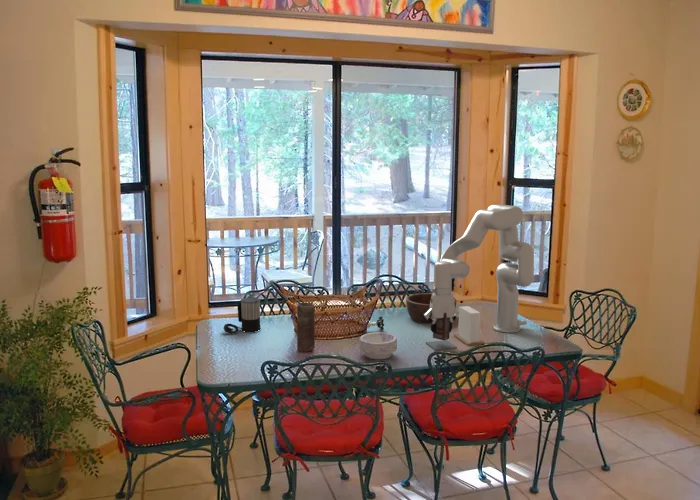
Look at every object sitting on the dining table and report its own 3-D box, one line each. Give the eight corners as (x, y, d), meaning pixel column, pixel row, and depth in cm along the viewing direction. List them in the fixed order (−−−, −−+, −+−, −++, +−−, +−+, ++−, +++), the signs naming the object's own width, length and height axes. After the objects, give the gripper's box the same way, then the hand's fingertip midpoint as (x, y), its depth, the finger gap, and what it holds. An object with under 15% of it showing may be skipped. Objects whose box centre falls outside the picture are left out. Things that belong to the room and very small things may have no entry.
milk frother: (265, 329, 283) (264, 298, 281) (244, 338, 269) (243, 306, 267) (241, 325, 290) (240, 295, 287) (219, 333, 276) (218, 302, 274)
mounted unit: (469, 335, 273) (470, 305, 271) (484, 344, 260) (485, 313, 258) (453, 336, 271) (454, 306, 269) (467, 345, 258) (468, 314, 256)
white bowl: (352, 356, 245) (352, 337, 243) (375, 347, 256) (375, 329, 255) (381, 365, 235) (381, 345, 233) (404, 355, 246) (404, 336, 245)
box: (449, 338, 257) (450, 311, 255) (443, 341, 254) (444, 313, 252) (438, 335, 261) (439, 308, 259) (432, 338, 258) (432, 310, 256)
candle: (306, 346, 258) (305, 300, 255) (318, 349, 253) (318, 303, 250) (293, 350, 252) (292, 304, 249) (306, 354, 247) (305, 307, 244)
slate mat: (446, 341, 264) (446, 340, 264) (456, 348, 254) (456, 347, 254) (425, 343, 261) (425, 342, 261) (434, 350, 252) (434, 349, 252)
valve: (359, 333, 276) (384, 331, 279) (359, 320, 275) (384, 318, 278) (355, 329, 282) (379, 328, 285) (355, 316, 281) (379, 314, 284)
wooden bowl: (404, 311, 314) (404, 292, 313) (452, 312, 313) (453, 293, 312) (407, 325, 289) (407, 304, 288) (459, 325, 288) (459, 305, 287)
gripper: (426, 294, 248) (425, 335, 251) (465, 291, 253) (463, 332, 256) (420, 290, 255) (419, 330, 258) (457, 287, 260) (456, 327, 263)
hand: (441, 331), depth 257 cm, fingers closed on box, 6 cm apart
